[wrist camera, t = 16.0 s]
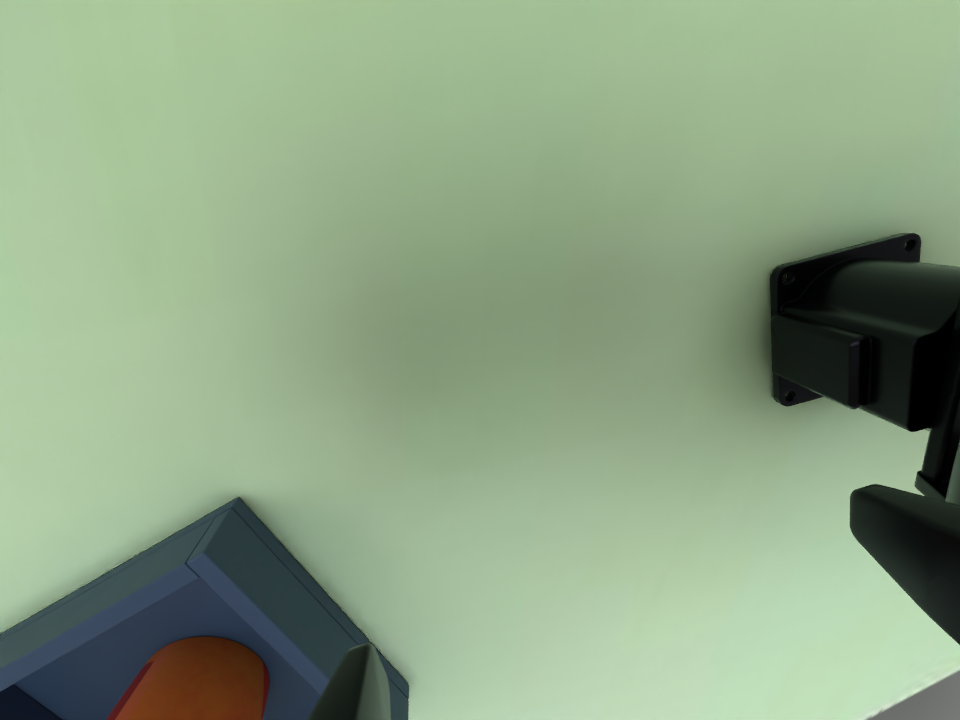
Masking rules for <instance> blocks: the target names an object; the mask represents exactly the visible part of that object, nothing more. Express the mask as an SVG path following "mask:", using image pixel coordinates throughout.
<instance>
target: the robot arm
mask: <svg viewBox="0 0 960 720" xmlns="http://www.w3.org/2000/svg"><path fill="white" fill-rule="evenodd" d="M905 244H906V246H905ZM904 247H905V248H904ZM920 249H921V238H920V237H919V235H917V234H915V233H900V234H897V235H893V236H889V237H885V238H881V239H878V240H874V241H870V242H866V243H862V244H859V245H855V246H851V247H847V248H843V249H840V250H836V251H832V252H828V253H824V254H821V255H817V256H813V257H809V258H806V259H802V260H798V261H794V262H790V263H787V264H783V265H780V266H778V267H776V268H775V269H774V270H773V272H772V274H771V277H770V294H771V343H772V371H773V396H774V399H775V401H776V402H778V403H780V404H782V405H784V406H792V405H796V404H799V403H803V402H807V401H810V400H814V399H817V398H821V397H826V398H828V399H831V400H833V401H835V402H837V403H839V404H842V405H844V406H846V407H848V408H850V409H857V408H859V409H861V410H863V411H866V412H868V413H870V414H872V415H875V416H877V417H879V418H881V419H884V420H886V421H888V422H890V423H893V424H895V425H897V426H899V427H901V428H904V429H906V430H908V431H910V432H916V431H919V430H923V429H925V430H928V431H930V434H929V438H928V443H927V447H926V452H925V456H924V461H923V466H922V470H921V471H918V472H917V476H916V481H915V487H916V488H917V489H918V490H919V491H920V492H921V493H922V494H923V495H925V496H922V495H918V494H914V493H910V492H906V491H902V490H898V489H894V488H890V487H886V486H882V485H878V484H873V485H869V486H865V487H862V488H859V489H856V490H854V491H853V492H852V493H851V496H850V528H851V531H852V533H853V535H854V537H855V538H856V539H857V541H858V542H859V543H860V544H861V545H862V546H863V547H864V548H865V549H866V550H867V551H868V552H869V554H870V555H871V556H872V557H873V558H874V559H875V560H876V561H877V562H878V563H879V564H880V565H881V566H882V567H883V568H884V569H885V571H886V572H887V573H888V574H889V575H890V576H891V577H892V578H893V579H894V580H895V581H896V582H897V583H898V584H899V585H900V587H901V588H902V589H903V590H904V591H905V592H906V593H907V594H908V595H909V596H910V597H911V598H912V599H913V600H914V601H915V602H916V604H917V605H918V606H919V607H920V608H921V609H922V610H923V611H924V612H925V613H926V614H927V615H928V616H929V617H930V618H931V619H932V620H933V621H935V622H936V623H937V624H938V625H939V626H940V627H941V628H942V629H943V630H944V631H945V632H946V633H947V634H948V635H950V636H951V637H952V638H953V639H954V640H955V641H956V642H957V643H958V644H959V645H960V267H959V266H949V265H939V264H930V263H920ZM785 273H786V274H787V277H786V279H785V280H784V281H783V280H782V279H783V276H784V274H785ZM787 392H789V393H788V395H787V396H786V397H785V395H786V394H787ZM307 720H391V710H390V691H389V683H388V678H387V675H386V672H385V670H384V668H383V665H382V663H381V661H380V659H379V656H378V654H377V652H376V649H375V647H374V646H373V645H372V644H371V643H366V644H362V645H359V646H356V647H353V648H350V649H349V650H348V651H347V652H346V653H345V654H344V656H343V658H342V660H341V661H340V663H339V665H338V667H337V668H336V670H335V672H334V674H333V675H332V677H331V679H330V681H329V682H328V684H327V686H326V688H325V689H324V691H323V693H322V695H321V696H320V698H319V700H318V701H317V703H316V705H315V707H314V708H313V710H312V712H311V714H310V715H309V717H308V719H307Z"/></svg>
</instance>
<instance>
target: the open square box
mask: <svg viewBox="0 0 960 720" xmlns="http://www.w3.org/2000/svg"><path fill="white" fill-rule="evenodd" d="M203 636H207V637H219V638H224V639H228V640H231V641H234V642H237V643H239V644H242V645H244V646H245V647H247V648H249V649H250V650H252V651H253V652H254V653H255V654H256V655H257V656H258V657H259V658H260V659H261V660H262V661H263V663H264V664H265V666H266V668H267V671H268V674H269V690H268V696H267V701H266V706H265V710H264V715H263V719H262V720H307V719H308V717H309V715H310V714H311V712H312V710H313V708H314V707H315V705H316V703H317V701H318V700H319V698H320V696H321V695H322V693H323V691H324V689H325V688H326V686H327V684H328V682H329V681H330V679H331V677H332V675H333V674H334V672H335V670H336V668H337V667H338V665H339V663H340V661H341V660H342V658H343V656H344V654H345V653H346V652H347V651H348V650H349V649H350V648H353V647H356V646H359V645H362V644H366V643H370V642H369V640H368V639H367V638H366V637H365V636H364V635H363V634H362V633H361V632H360V631H359V629H358V628H357V627H356V626H355V625H354V624H353V623H352V622H351V621H350V619H349V618H348V617H347V616H346V615H345V614H344V613H343V612H342V611H341V610H340V608H339V607H338V606H337V605H336V604H335V603H334V602H333V601H332V600H331V599H330V597H329V596H328V595H327V594H326V593H325V592H324V591H323V590H322V589H321V587H320V586H319V585H318V584H317V583H316V582H315V581H314V580H313V579H312V578H311V576H310V575H309V574H308V573H307V572H306V571H305V570H304V569H303V568H302V567H301V565H300V564H299V563H298V562H297V561H296V560H295V559H294V558H293V557H292V556H291V554H290V553H289V552H288V551H287V550H286V549H285V548H284V547H283V546H282V544H281V543H280V542H279V541H278V540H277V539H276V538H275V537H274V536H273V535H272V533H271V532H270V531H269V530H268V529H267V528H266V527H265V526H264V525H263V524H262V522H261V521H260V520H259V519H258V518H257V517H256V516H255V515H254V514H253V512H252V511H251V510H250V509H249V508H248V507H247V506H246V505H245V504H244V503H243V501H242V500H241V499H240V498H236V499H234V500H232V501H230V502H229V503H227V504H225V505H224V506H222V507H220V508H218V509H217V510H215V511H213V512H211V513H210V514H208V515H206V516H204V517H203V518H201V519H199V520H198V521H196V522H194V523H192V524H191V525H189V526H187V527H185V528H184V529H182V530H180V531H179V532H177V533H175V534H173V535H172V536H170V537H168V538H166V539H165V540H163V541H161V542H159V543H158V544H156V545H154V546H153V547H151V548H149V549H147V550H146V551H144V552H142V553H140V554H139V555H137V556H135V557H134V558H132V559H130V560H128V561H127V562H125V563H123V564H121V565H120V566H118V567H116V568H114V569H113V570H111V571H109V572H108V573H106V574H104V575H102V576H101V577H99V578H97V579H95V580H94V581H92V582H90V583H89V584H87V585H85V586H83V587H82V588H80V589H78V590H76V591H75V592H73V593H71V594H69V595H68V596H66V597H64V598H63V599H61V600H59V601H57V602H56V603H54V604H52V605H50V606H49V607H47V608H45V609H44V610H42V611H40V612H38V613H37V614H35V615H33V616H31V617H30V618H28V619H26V620H24V621H23V622H21V623H19V624H18V625H16V626H14V627H12V628H11V629H9V630H7V631H5V632H4V633H2V634H0V720H106V719H107V717H108V716H109V714H110V713H111V711H112V710H113V709H114V707H115V706H116V704H117V703H118V701H119V700H120V699H121V697H122V696H123V694H124V693H125V691H126V690H127V689H128V687H129V686H130V684H131V683H132V682H133V680H134V679H135V677H136V676H137V675H138V673H139V672H140V670H141V669H142V668H143V666H144V665H145V664H146V663H147V661H148V660H149V659H150V658H151V657H152V656H153V655H154V654H155V653H156V652H157V651H159V650H160V649H161V648H163V647H165V646H166V645H168V644H171V643H173V642H175V641H178V640H182V639H186V638H191V637H203ZM375 649H376V648H375ZM376 652H377V654H378V656H379V659H380V661H381V663H382V665H383V668H384V670H385V672H386V675H387V678H388V683H389V691H390V710H391V720H408V699H409V685H408V683H407V682H406V681H405V680H404V679H403V678H402V677H401V676H400V675H399V674H398V672H397V671H396V670H395V669H394V668H393V667H392V666H391V665H390V664H389V663H388V661H387V660H386V659H385V658H384V657H383V656H382V655H381V654H380V653H379V651H378V650H377V649H376Z"/></svg>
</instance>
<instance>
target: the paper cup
mask: <svg viewBox="0 0 960 720" xmlns="http://www.w3.org/2000/svg"><path fill="white" fill-rule="evenodd" d="M268 690H269V674H268V671H267V668H266V666H265V664H264V663H263V661H262V660H261V659H260V658H259V657H258V656H257V655H256V654H255V653H254V652H253V651H252V650H250V649H249V648H247V647H245V646H244V645H242V644H239V643H237V642H234V641H231V640H228V639H224V638H219V637H207V636H203V637H191V638H186V639H182V640H178V641H175V642H173V643H171V644H168V645H166V646H165V647H163V648H161V649H160V650H159V651H157V652H156V653H155V654H154V655H153V656H152V657H151V658H150V659H149V660H148V661H147V663H146V664H145V665H144V666H143V668H142V669H141V670H140V672H139V673H138V675H137V676H136V677H135V679H134V680H133V682H132V683H131V684H130V686H129V687H128V689H127V690H126V691H125V693H124V694H123V696H122V697H121V699H120V700H119V701H118V703H117V704H116V706H115V707H114V709H113V710H112V711H111V713H110V714H109V716H108V717H107V719H106V720H262V719H263V715H264V710H265V706H266V701H267V696H268Z"/></svg>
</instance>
